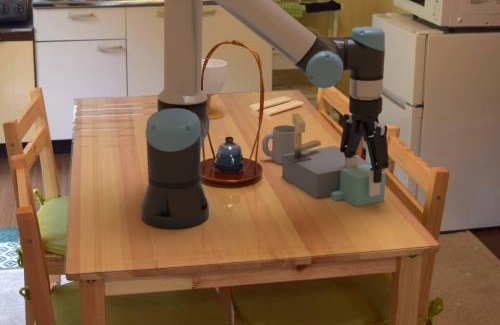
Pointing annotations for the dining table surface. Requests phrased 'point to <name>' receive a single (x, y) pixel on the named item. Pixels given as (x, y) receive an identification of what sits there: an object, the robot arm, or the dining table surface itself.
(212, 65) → the cup
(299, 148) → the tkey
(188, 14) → the robot arm
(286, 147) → the cup
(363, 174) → the cover
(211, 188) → the dining table surface
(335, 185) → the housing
